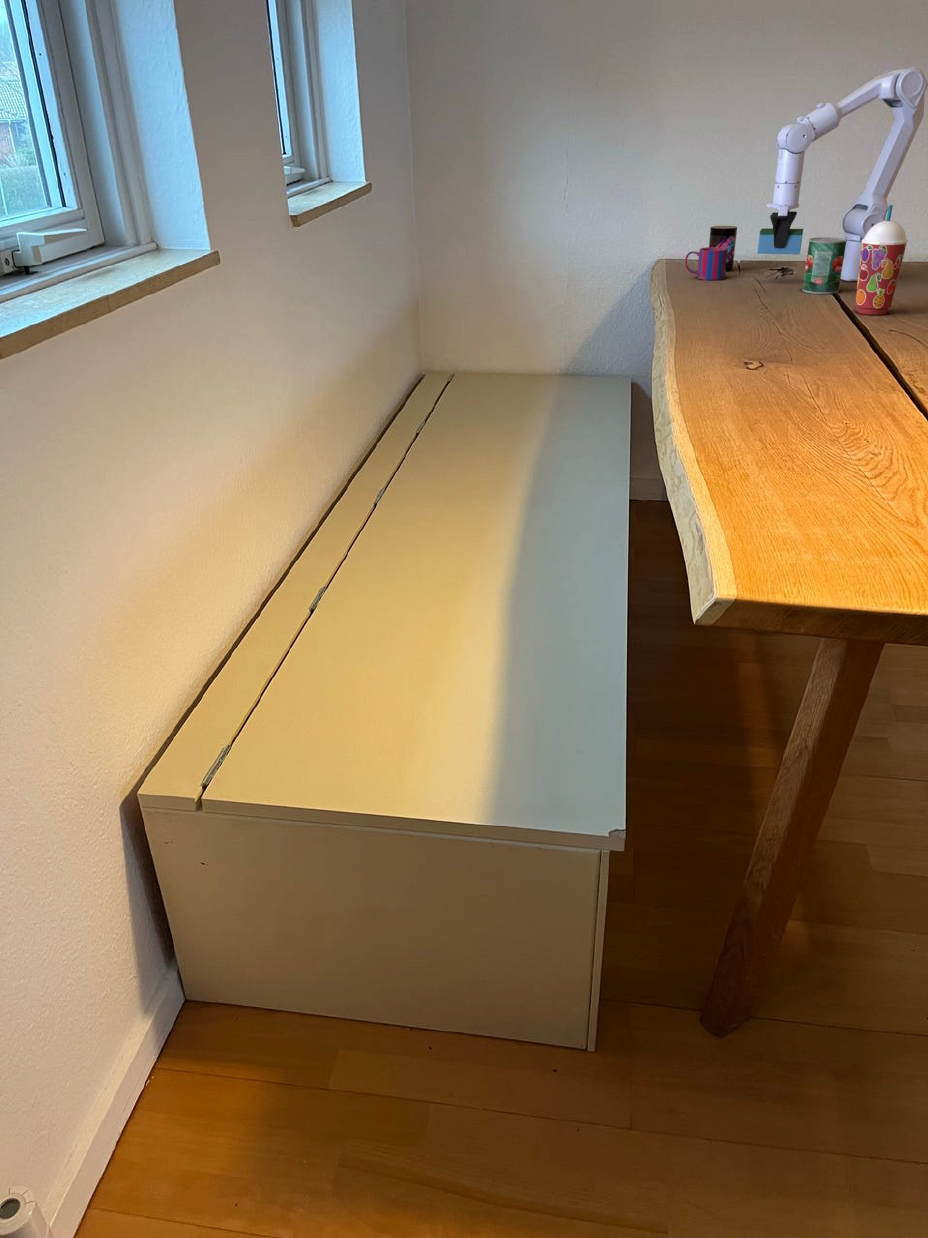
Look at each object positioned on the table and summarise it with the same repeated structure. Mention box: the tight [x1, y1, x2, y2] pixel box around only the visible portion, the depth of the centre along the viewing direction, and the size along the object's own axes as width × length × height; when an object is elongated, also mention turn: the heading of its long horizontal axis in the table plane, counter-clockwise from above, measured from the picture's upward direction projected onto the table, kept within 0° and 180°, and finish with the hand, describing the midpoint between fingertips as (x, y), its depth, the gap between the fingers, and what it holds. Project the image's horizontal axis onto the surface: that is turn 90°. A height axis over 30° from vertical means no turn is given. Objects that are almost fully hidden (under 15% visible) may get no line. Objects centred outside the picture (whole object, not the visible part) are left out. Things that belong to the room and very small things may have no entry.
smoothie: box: [854, 204, 909, 316], centre depth 184 cm, size 8×8×20 cm
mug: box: [684, 246, 728, 281], centre depth 230 cm, size 7×10×7 cm
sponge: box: [756, 227, 804, 255], centre depth 219 cm, size 10×5×5 cm, turn 71°
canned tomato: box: [801, 236, 847, 295], centre depth 209 cm, size 8×8×11 cm
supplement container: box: [708, 225, 738, 272], centre depth 240 cm, size 7×7×10 cm
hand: (779, 245), depth 220 cm, fingers closed on sponge, 5 cm apart
